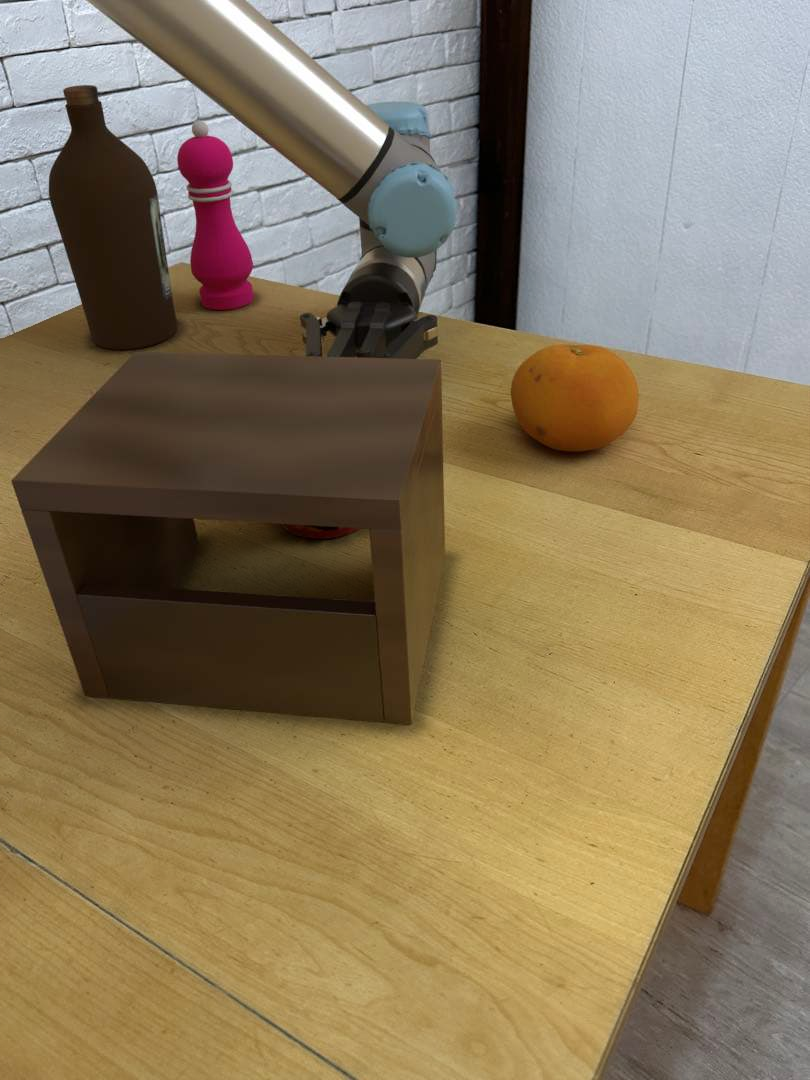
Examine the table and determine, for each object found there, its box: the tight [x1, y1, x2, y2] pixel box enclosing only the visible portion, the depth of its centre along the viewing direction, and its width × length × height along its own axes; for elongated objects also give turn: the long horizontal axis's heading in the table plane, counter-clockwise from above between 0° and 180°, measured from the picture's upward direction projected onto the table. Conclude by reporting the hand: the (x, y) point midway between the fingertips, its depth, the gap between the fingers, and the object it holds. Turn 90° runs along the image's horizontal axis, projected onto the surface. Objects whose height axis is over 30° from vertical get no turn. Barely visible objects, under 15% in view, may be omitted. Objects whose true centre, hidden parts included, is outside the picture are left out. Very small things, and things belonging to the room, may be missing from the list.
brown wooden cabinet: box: [10, 351, 446, 725], centre depth 55 cm, size 16×20×15 cm
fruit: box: [510, 343, 640, 452], centre depth 76 cm, size 10×10×8 cm
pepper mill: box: [176, 120, 254, 311], centre depth 103 cm, size 7×7×20 cm
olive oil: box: [48, 84, 178, 351], centre depth 94 cm, size 11×11×25 cm
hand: (330, 410), depth 69 cm, fingers closed
